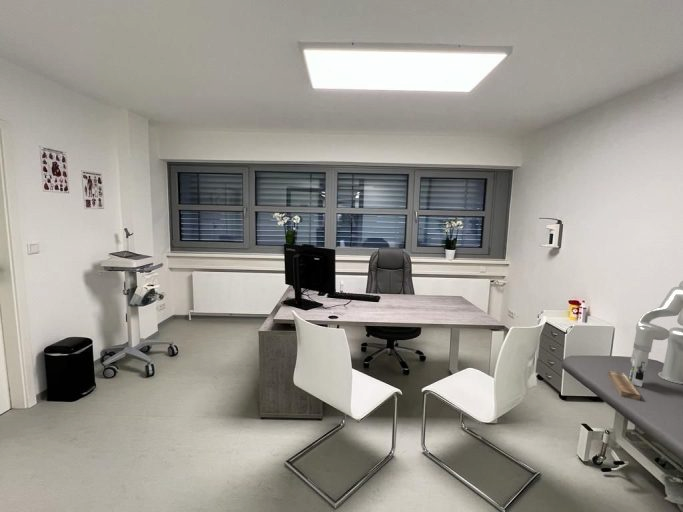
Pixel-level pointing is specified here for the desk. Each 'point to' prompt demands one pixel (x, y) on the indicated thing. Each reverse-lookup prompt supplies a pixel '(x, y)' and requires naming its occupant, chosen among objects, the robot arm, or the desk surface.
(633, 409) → the desk surface
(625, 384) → the walnut board
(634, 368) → the syrup box
